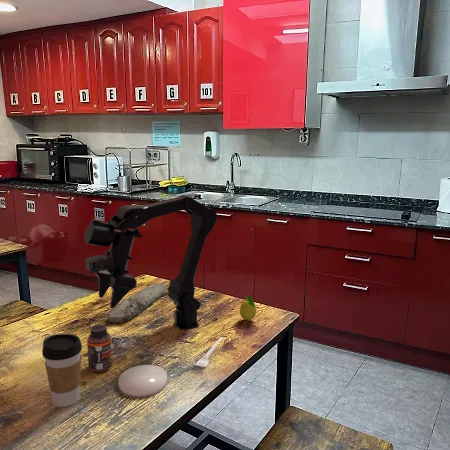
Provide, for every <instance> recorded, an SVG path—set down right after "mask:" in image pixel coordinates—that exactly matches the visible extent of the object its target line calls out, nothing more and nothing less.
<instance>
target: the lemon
mask: <svg viewBox="0 0 450 450" xmlns="http://www.w3.org/2000/svg"><path fill="white" fill-rule="evenodd" d="M239 314H240V316H241V318H242V319H244V321H245V320H246V321H247V322H249V321H251V320H253V319H254V318H255V317H256V314H257V306H256V304H255V302H254V299H253V298H252V296H250V293H249V292H247V295H245V298H244V299H243V300H242V302H241V304H240V306H239Z"/></svg>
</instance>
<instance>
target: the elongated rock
mask: <svg viewBox="0 0 450 450" xmlns="http://www.w3.org/2000/svg"><path fill="white" fill-rule="evenodd" d="M167 289H168V287H167V285H166V284H165V283H163V282H161V283H159V282H157V283H154V284H149V285H148V286H146V287H145V288H143V289H141V290H140V291H138V292H136V294H134V295H132V296H129V297H127V298H124V299H122V300H121V301H120V302H119V303H118V304H117V305H116V307H115V308H112V310H111V311H110V313H109V314H108V321H109V322H110V323H113V324H115V323H116V324H119V323H124V322H127V321H129V320H132V319H134V318H135V317H137V316H138V315H141V314H142V313H143V312H144V310H146V309H147V308H148V307H149V306H150V305H151V304H152V303H154V302H156V300H158V299H159V298H160V297H161V296H163V295H164V294H165V292H166V290H167Z"/></svg>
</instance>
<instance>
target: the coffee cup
mask: <svg viewBox="0 0 450 450" xmlns="http://www.w3.org/2000/svg"><path fill="white" fill-rule="evenodd" d="M82 350H83V344H82V342H81V338H80V337H79V336H78V335H75V334H71V333H70V334H69V333H59V334H53V335H49V336H48V337H46V338H45V339H44V340H43V342H42V351H41V353H42V354H41V355H42V357H43V358H44V367H45V370H46V376H47V381H48V386H49V389H50V396H51V401H52V405H54V406H55V407H58V408H64V407H69V406H72V405H74V404H76V403H77V402H78V400H80V397H81V396H80V394H81V393H80V391H81V390H80V389H81V386H80V385H81V372H82V371H81V369H82V367H81V366H82V355H81V351H82Z"/></svg>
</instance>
